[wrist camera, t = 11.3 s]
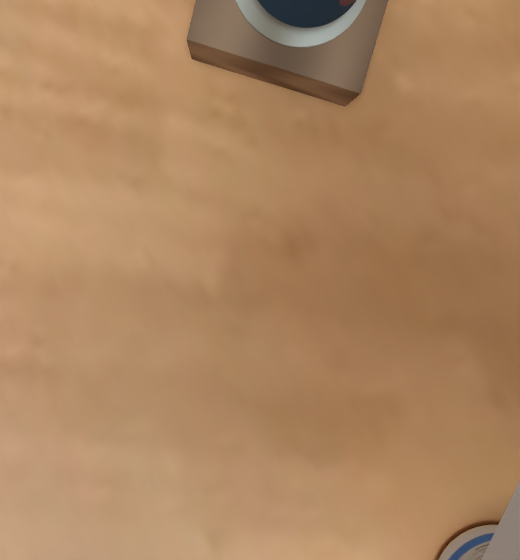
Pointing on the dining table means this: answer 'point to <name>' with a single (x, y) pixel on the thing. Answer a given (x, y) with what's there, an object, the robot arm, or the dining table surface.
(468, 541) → the supplement tub
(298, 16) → the soda can
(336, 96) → the plinth
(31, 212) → the dining table surface
